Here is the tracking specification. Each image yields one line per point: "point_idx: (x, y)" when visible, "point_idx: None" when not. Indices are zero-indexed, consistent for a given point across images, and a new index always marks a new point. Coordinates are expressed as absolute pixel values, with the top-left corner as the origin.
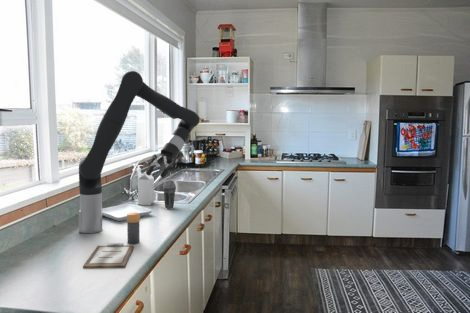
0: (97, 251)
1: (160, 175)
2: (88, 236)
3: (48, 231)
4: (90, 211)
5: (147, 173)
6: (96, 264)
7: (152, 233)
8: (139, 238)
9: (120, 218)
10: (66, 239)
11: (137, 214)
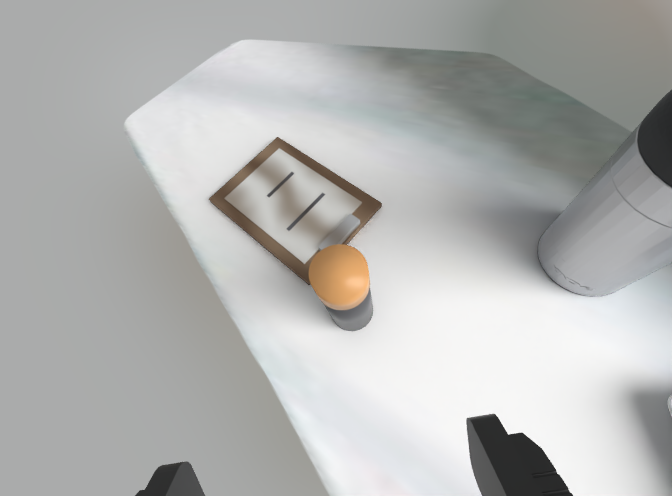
0: (333, 184)
1: (180, 462)
2: (509, 224)
3: None
4: (583, 191)
5: (469, 427)
6: (263, 158)
7: (397, 433)
8: (338, 324)
9: (669, 410)
10: (515, 167)
11: (318, 282)
